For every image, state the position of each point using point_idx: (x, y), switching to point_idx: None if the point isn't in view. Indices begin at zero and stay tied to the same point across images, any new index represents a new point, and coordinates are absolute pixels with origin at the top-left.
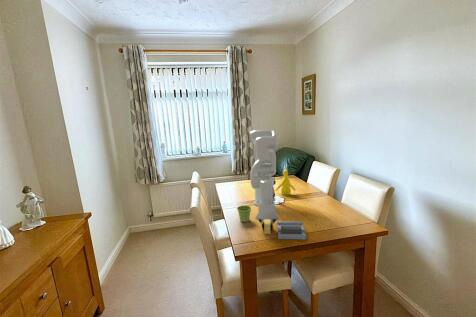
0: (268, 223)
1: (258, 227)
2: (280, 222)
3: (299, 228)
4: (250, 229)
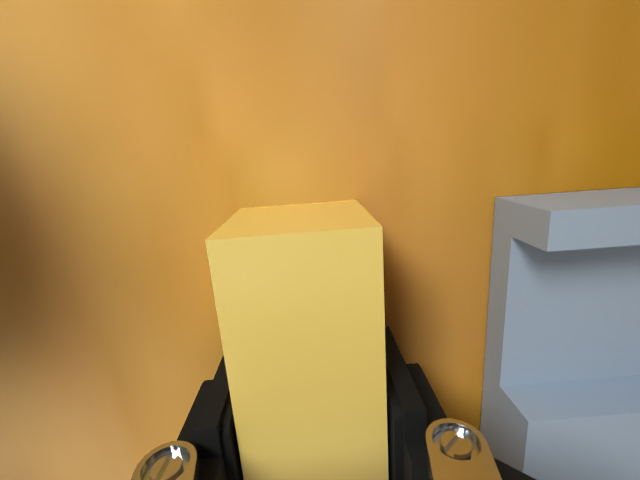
0: (344, 454)
1: (137, 316)
2: (620, 243)
3: None
4: (13, 398)
